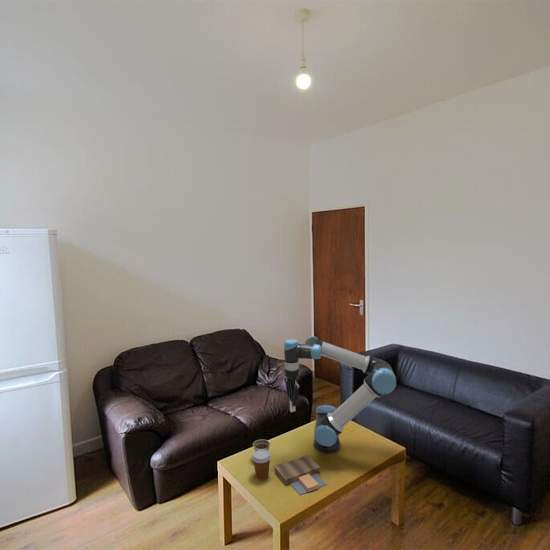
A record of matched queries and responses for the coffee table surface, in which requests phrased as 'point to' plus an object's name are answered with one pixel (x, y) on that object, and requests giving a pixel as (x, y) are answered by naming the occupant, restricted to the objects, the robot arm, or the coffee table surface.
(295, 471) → the brown flat slab
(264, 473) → the disposable coffee cup
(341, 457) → the coffee table surface
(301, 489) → the mat
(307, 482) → the orange brown flat block
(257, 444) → the clear plastic cup
